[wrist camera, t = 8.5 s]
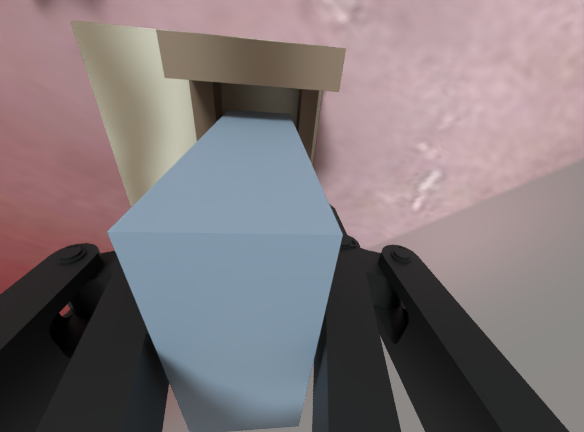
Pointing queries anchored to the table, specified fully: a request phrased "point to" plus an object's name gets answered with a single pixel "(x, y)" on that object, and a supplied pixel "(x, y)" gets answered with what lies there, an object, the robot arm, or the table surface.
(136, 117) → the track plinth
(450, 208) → the table surface
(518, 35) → the table surface
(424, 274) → the robot arm
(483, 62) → the table surface
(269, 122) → the light blue rectangular block
